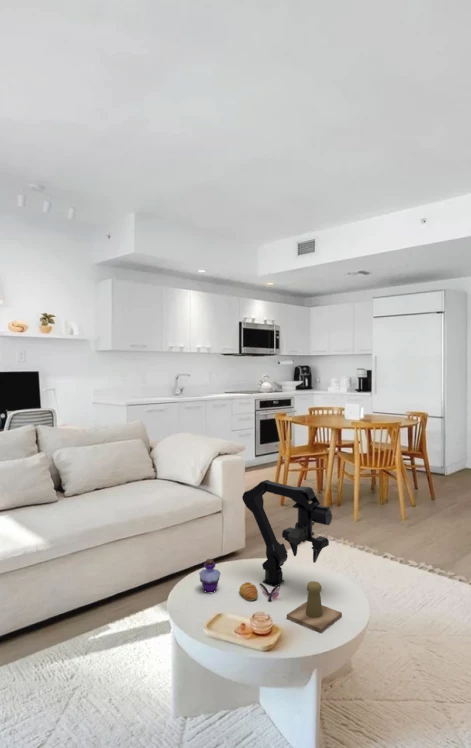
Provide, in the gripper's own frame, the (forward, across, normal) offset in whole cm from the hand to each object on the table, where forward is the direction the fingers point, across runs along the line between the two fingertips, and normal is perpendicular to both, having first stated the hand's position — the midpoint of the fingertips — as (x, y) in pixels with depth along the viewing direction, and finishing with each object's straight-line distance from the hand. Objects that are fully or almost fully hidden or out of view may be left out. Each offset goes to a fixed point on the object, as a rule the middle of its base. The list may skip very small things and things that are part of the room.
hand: (304, 559), depth 197 cm
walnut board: (+13, +14, -14) cm, 24 cm away
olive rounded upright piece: (+11, +14, -14) cm, 23 cm away
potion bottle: (+13, -29, -24) cm, 40 cm away
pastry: (+14, -14, -17) cm, 26 cm away
